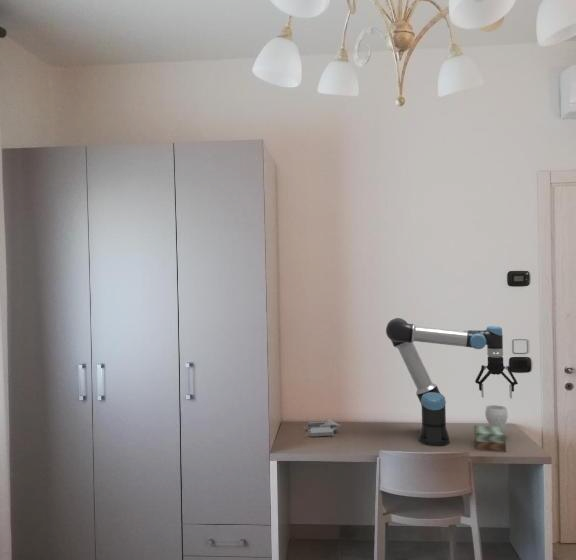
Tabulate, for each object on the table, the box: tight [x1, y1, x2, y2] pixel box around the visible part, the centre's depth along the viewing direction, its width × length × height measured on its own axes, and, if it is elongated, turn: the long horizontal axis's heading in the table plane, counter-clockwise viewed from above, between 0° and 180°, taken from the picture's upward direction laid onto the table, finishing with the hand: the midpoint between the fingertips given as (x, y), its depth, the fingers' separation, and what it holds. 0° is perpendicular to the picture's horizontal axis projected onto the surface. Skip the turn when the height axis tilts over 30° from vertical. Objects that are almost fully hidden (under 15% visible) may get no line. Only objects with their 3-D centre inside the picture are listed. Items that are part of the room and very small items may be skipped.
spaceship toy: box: [303, 418, 342, 437], centre depth 274 cm, size 14×20×6 cm
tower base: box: [473, 424, 507, 453], centre depth 246 cm, size 13×13×8 cm
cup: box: [484, 404, 508, 431], centre depth 261 cm, size 11×11×15 cm
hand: (496, 397), depth 261 cm, fingers open, 13 cm apart
